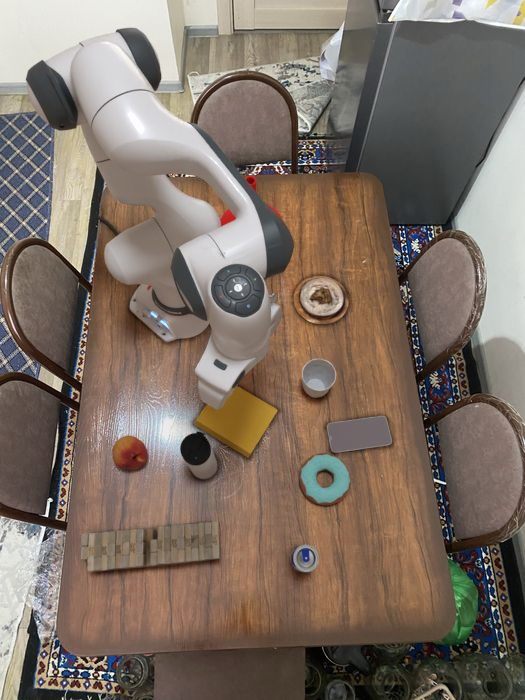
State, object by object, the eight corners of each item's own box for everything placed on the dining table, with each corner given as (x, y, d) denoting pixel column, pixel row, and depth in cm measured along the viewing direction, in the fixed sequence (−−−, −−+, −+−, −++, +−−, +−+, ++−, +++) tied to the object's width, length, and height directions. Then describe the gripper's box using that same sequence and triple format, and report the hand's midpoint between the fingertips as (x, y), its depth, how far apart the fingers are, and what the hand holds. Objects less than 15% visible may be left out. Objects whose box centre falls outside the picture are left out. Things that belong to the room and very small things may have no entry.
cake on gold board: (346, 276, 145) (348, 268, 141) (350, 324, 139) (352, 317, 135) (293, 276, 144) (294, 268, 141) (294, 324, 139) (295, 317, 135)
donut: (288, 475, 123) (289, 472, 119) (326, 445, 126) (328, 441, 122) (320, 517, 119) (322, 515, 116) (359, 485, 122) (362, 482, 119)
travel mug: (221, 456, 125) (215, 436, 106) (211, 483, 122) (203, 466, 104) (197, 448, 126) (186, 426, 107) (187, 474, 123) (174, 456, 105)
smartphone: (392, 444, 125) (332, 453, 124) (392, 445, 126) (331, 454, 125) (385, 415, 128) (326, 423, 127) (384, 416, 129) (325, 424, 128)
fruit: (123, 478, 123) (115, 472, 115) (111, 448, 125) (102, 441, 118) (154, 463, 124) (147, 456, 117) (141, 433, 127) (134, 425, 120)
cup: (328, 406, 130) (333, 393, 121) (296, 399, 130) (299, 387, 121) (333, 376, 133) (338, 361, 124) (302, 370, 134) (305, 355, 124)
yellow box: (193, 424, 128) (193, 423, 127) (224, 378, 133) (224, 378, 132) (248, 458, 125) (248, 457, 124) (278, 410, 129) (278, 409, 129)
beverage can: (288, 548, 117) (291, 545, 103) (310, 546, 117) (317, 543, 103) (290, 572, 115) (294, 573, 101) (313, 570, 115) (320, 570, 101)
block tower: (92, 572, 116) (223, 560, 116) (79, 572, 108) (219, 560, 108) (94, 534, 119) (221, 523, 119) (81, 532, 111) (217, 520, 111)
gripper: (260, 279, 85) (259, 316, 98) (187, 379, 78) (197, 405, 91) (293, 297, 83) (288, 333, 96) (222, 400, 77) (227, 424, 90)
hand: (243, 368), depth 93 cm, fingers open, 8 cm apart
